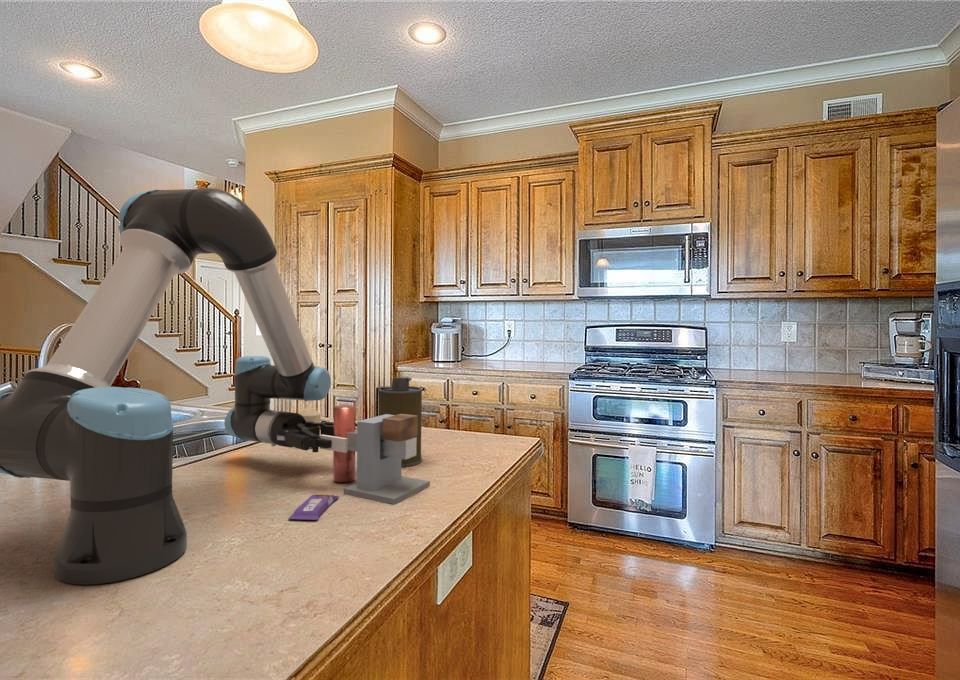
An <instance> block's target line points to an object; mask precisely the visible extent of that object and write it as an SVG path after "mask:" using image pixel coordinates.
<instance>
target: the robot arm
mask: <svg viewBox="0 0 960 680" xmlns="http://www.w3.org/2000/svg"><path fill="white" fill-rule="evenodd" d="M117 219H118V221H119V222H120V225H118V231H119V244H120V246H121V248H122V250H121V252H120V254H119V255H118V257H116V260H115V261H114V263H113V264H112V265H111V267H110V269H109V270H108V272H107V273H106V275H105V277H104V278H103V279H102V281H101V283H100V284H99V286H98V287H97V288H96V290H95V292H94V293H93V295H92V296H91V298H90V299H89V300H88V302H87V303H86V305H85V306H84V308H83V309H82V311H81V312H80V314H79V316H78V317H77V318H76V320H75V322H74V323H73V325H72V326H71V328H70V329H69V330H68V332H67V334H66V335H65V337H64V338H63V340H61V343H60V344H59V346H58V347H57V349H56V350H55V352H54V354H53V355H52V356H51V358H50V359H49V361H48V362H47V364H46V365H45V366H41V367H38V368H33V369H29V370H28V371H27V372H26V373H25V375H23V378H22V379H21V381H20V382H19V383H18V385H17V386H16V388H15V389H14V390H13V392H9V391H8V392H6V393H3V394H0V474H5V475H8V476H12V477H14V478H20V479H21V478H29V479H30V478H35V479H36V478H38V479H48V480H55V481H68V482H69V487H70V491H69V492H70V511H69V516H68V518H67V521H66V524H65V527H64V530H63V532H62V534H61V535H62V536H61V538H60V540H59V544H58V546H57V548H56V551H55V554H54V558H53V559H54V562H53V563H54V564H53V566H54V567H53V568H54V576H55V578H56V579H58V580H59V581H61V582H63V583H67V584H73V585H101V584H107V583H116V582H120V581H126V580H129V579H132V578H136V577H140V576H143V575H146V574H149V573H152V572H155V571H157V570H159V569H161V568H164V567H166V566H168V565H169V564H172V563H173V562H175V561H176V560H177V559H179V558H180V557H181V556H182V555H183V554H184V553H185V552H186V550H187V548H188V545H187V543H188V539H187V537H188V534H187V529H186V526H185V524H184V521H183V519H182V516H181V514H180V511H179V509H178V506H177V503H176V501H175V498H174V495H173V463H174V462H173V460H174V459H173V454H174V453H173V451H174V450H173V446H174V442H173V441H174V440H173V439H174V438H173V437H174V432H173V431H174V420H173V418H172V407H171V406H172V405H171V401H170V400H169V399H168V397H166V396H165V395H164V394H162V393H160V392H157V391H154V390H151V389H145V388H140V387H139V388H138V387H128V386H127V387H121V386H112V384H113V383H114V381H115V380H116V377H117V376H118V374H119V372H120V370H121V369H122V368H123V365H124V364H125V362H126V360H127V359H128V357H129V355H130V353H131V351H132V350H133V348H134V346H135V344H136V343H137V341H138V339H139V338H140V335H141V334H142V333H143V330H144V329H145V327H146V325H147V324H148V322H149V320H150V318H151V316H152V315H153V313H154V311H155V309H156V308H157V306H158V305H159V303H160V301H161V300H162V297H163V296H164V294H165V293H166V290H167V289H168V287H169V285H170V284H171V281H172V280H173V278H174V277H175V275H181V274H184V273H186V272H188V271H189V270H190V267H191V266H192V264H193V262H194V261H195V259H196V257H197V256H198V255H199V254H200V255H202V254H204V255H205V254H215V255H217V256H218V257H219V258H221V260H222V262H223V264H224V267H225V269H226V270H227V271H229V272H231V273H233V274H234V275H235V277H236V280H237V281H238V283H239V285H240V289H241V290H242V293H243V295H244V298H245V300H246V303H247V304H248V307H249V309H250V311H251V314H252V315H253V318H254V321H255V323H256V326H257V328H258V329H259V331H260V334H261V336H262V338H263V341H264V344H265V345H266V348H267V350H268V352H269V355H270V357H271V359H270V357H269V356H263V355H259V356H258V355H251V356H250V355H249V356H248V355H247V356H240V357H237V358H236V360H235V365H234V366H235V368H234V375H233V379H234V407H232V408H231V409H230V410H229V411H227V414H226V417H225V418H224V422H223V423H224V429H225V431H226V433H227V434H228V435H230V436H231V437H233V438H236V439H241V441H252V442H257V443H263V444H269V445H271V447H276V446H279V447H285V448H295V449H299V450H302V451H309V450H310V449H312V450H311V451H312V453H319V450H320V449H321V450H326V451H330V452H331V451H337V452H343V453H346V452H347V441H348V438H342V437H335V436H334V421H327V420H322V421H321V420H320V423H314V422H312V421H307V422H306V420H305V419H304V417H303V416H302V415H300V414H299V413H297V412H292V411H285V410H275V409H271V399H277V400H278V399H279V400H294V401H295V400H296V401H304V402H308V401H309V402H310V401H311V402H312V401H313V402H314V401H323V399H325V398H326V397H327V395H328V394H329V392H330V390H331V383H332V382H331V381H332V380H331V375H330V372H329V371H328V370H327V369H326V368H325V367H321V366H315V364H314V362H313V359H312V357H311V355H310V353H309V349H308V347H307V344H306V341H305V338H304V336H303V333H302V330H301V328H300V325H299V323H298V320H297V317H296V314H295V312H294V309H293V307H292V304H291V301H290V299H289V296H288V293H287V291H286V288H285V286H284V283H283V281H282V277H281V275H280V272H279V270H278V267H277V264H276V261H275V260H276V258H277V257H278V251H277V248H276V246H275V243H274V240H273V238H272V236H271V234H270V233H269V231H268V229H267V227H266V226H265V225H264V223H263V222H262V220H261V219H260V218H259V217H258V215H257V214H256V213H255V211H253V210H252V208H250V207H249V206H248V205H247V204H246V203H245V202H243V201H242V200H241V199H240V198H238V197H237V196H236V195H234V194H232V193H230V192H228V191H225V190H222V189H219V188H211V187H204V188H192V189H191V188H189V189H187V188H185V189H184V188H183V189H182V188H181V189H151V190H148V191H142V192H138V193H136V194H133V195H132V196H130V197H129V198H128V199H127V200H126V201H124V203H123V204H122V206H121V208H120V210H119V213H118V218H117ZM271 360H272V361H273V365H272V364H271ZM355 430H357V422H355ZM319 434H320V436H319ZM309 447H311V448H309Z"/></svg>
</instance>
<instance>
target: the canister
mask: <svg viewBox="0 0 960 680" xmlns="http://www.w3.org/2000/svg"><path fill="white" fill-rule="evenodd" d="M412 380H413V379H412V377H409V376H408V377H406V376H404V377H403V376H396V377H394V378H392V381H391V385H389V386H384V385H383V386H377V387H376V388H375V417H377V416H381V415H385V414H389V415H398V414H408V415H417V416H418V432H417V436H415V437H417V443H416V456H414V457H411V458H409V459H406V460H405V459H401V468H405V467H406V468H407V467H413V466H416V465H417V466H418V465H419V464H420V463H422V461H423V459H422V408H423V407H422V405H423V404H422V402H423V401H422V399H423V398H422V397H423V395H422V394H423V387H420V386H413V385H410V382H411V381H412Z"/></svg>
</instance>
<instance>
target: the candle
mask: <svg viewBox="0 0 960 680" xmlns="http://www.w3.org/2000/svg"><path fill="white" fill-rule="evenodd" d="M298 414H300V415H302V416H303V417H304V419H305V420H306V422H307V421H312V422H314V423H321V413H320V411H318V410H317V409H315V408H310V407H306V408H302V410H301V411H299V413H298ZM320 435H321V433H320V434H319V436H320ZM309 449H312V448H311V447H309Z"/></svg>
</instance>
